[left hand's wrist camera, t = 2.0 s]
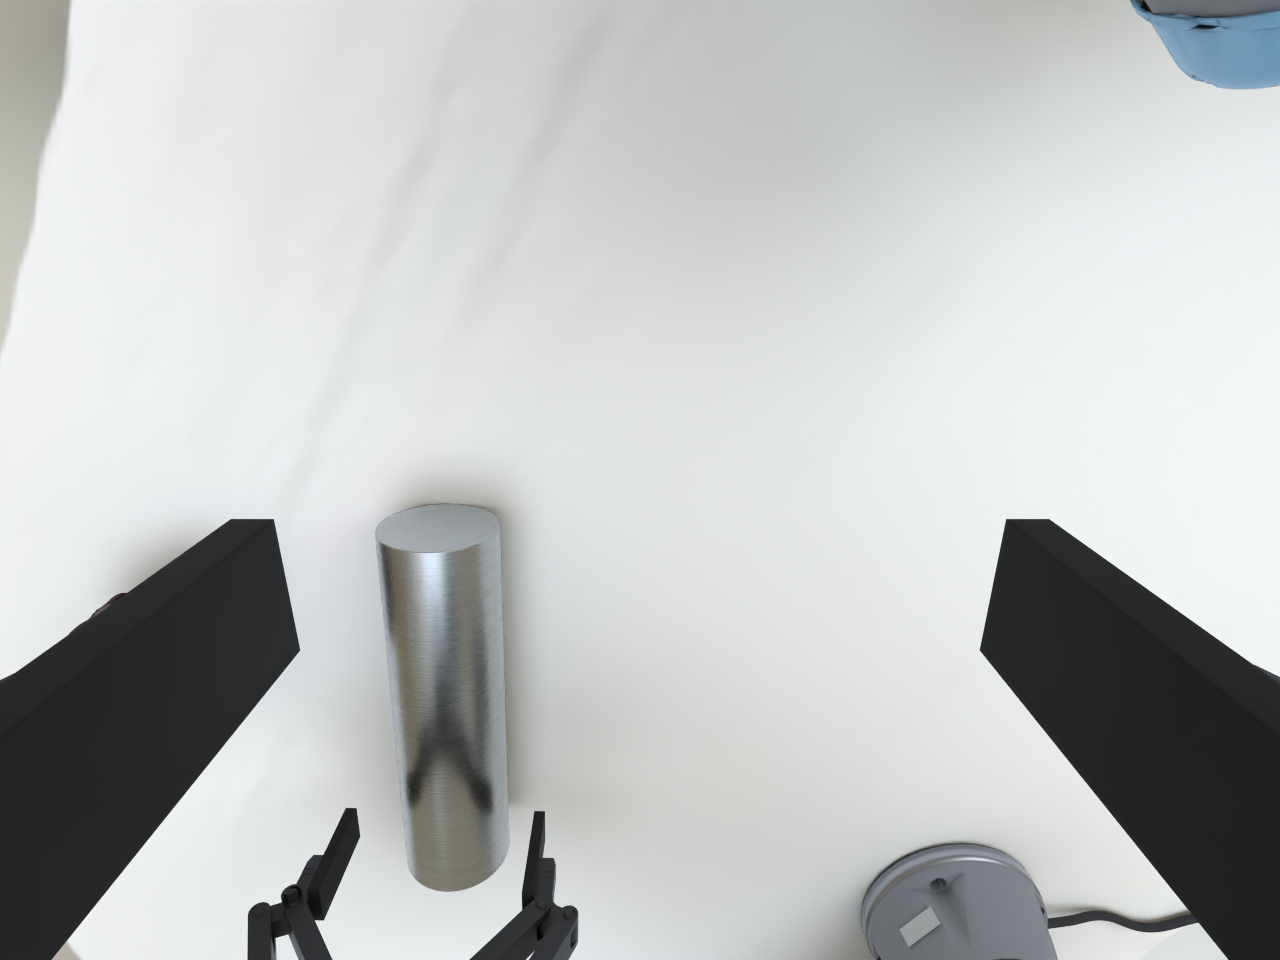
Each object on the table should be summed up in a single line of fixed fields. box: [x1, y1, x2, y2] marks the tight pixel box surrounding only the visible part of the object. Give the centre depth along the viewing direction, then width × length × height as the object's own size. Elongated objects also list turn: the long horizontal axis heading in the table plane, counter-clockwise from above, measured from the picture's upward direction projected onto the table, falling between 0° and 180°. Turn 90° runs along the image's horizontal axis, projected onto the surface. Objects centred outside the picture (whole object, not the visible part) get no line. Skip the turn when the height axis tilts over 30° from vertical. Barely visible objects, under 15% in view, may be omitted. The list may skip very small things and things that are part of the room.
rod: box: [375, 504, 509, 892], centre depth 48 cm, size 27×8×8 cm, turn 177°
